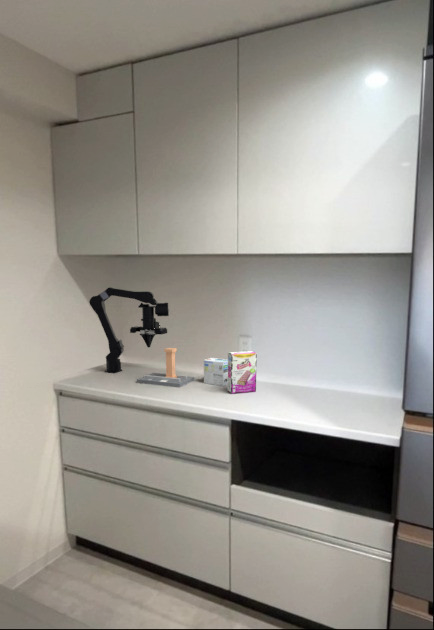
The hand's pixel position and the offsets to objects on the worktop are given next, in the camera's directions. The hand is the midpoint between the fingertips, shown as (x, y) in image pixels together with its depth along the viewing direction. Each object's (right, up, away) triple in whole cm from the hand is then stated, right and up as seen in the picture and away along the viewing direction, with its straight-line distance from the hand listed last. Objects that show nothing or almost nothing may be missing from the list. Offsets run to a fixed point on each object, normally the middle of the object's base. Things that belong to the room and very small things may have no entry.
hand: (148, 347), depth 218 cm
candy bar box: (+45, -16, -39) cm, 61 cm away
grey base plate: (+11, -14, -21) cm, 28 cm away
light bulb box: (+34, -14, -25) cm, 45 cm away
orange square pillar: (+13, -12, -22) cm, 29 cm away
